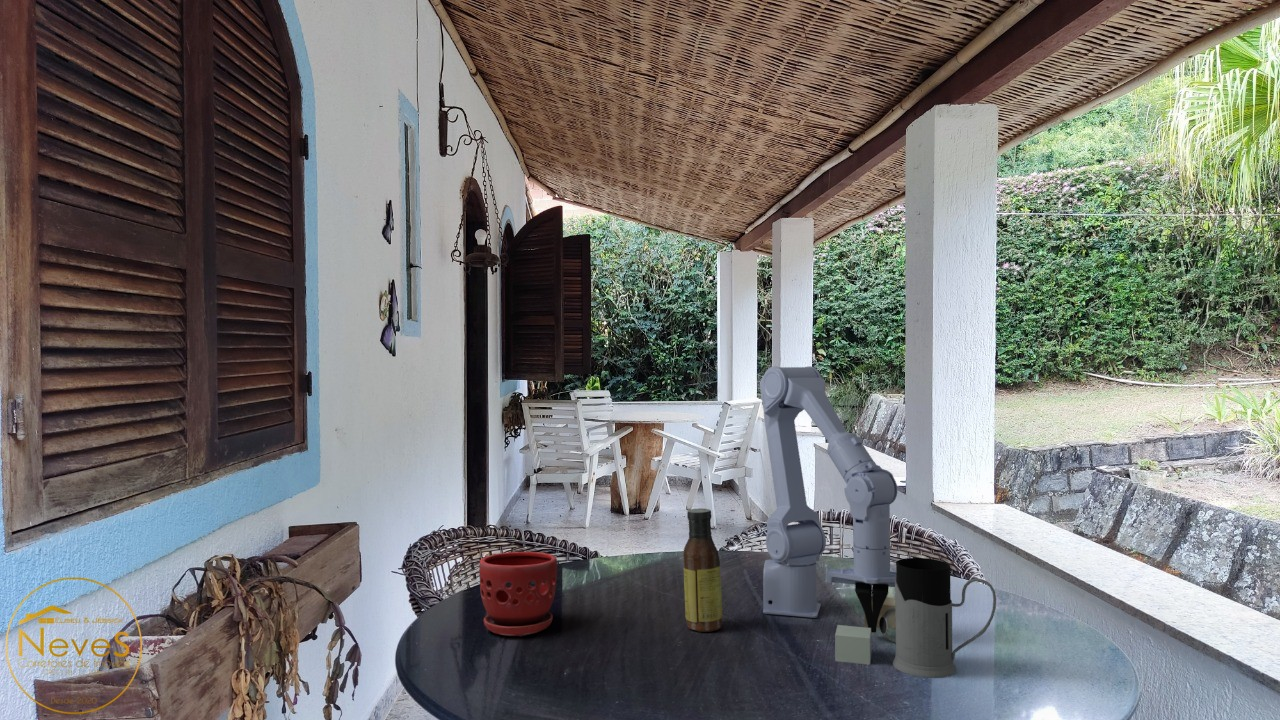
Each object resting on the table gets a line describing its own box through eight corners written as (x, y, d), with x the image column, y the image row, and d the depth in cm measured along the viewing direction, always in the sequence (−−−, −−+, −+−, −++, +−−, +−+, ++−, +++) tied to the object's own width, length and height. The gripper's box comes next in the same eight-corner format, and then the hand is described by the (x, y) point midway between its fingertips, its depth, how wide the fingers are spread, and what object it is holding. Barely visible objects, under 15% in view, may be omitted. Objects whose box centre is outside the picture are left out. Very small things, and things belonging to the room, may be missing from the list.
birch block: (864, 627, 136) (864, 603, 136) (865, 618, 140) (864, 595, 141) (895, 629, 134) (895, 605, 134) (894, 620, 139) (894, 597, 139)
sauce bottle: (727, 624, 137) (726, 508, 137) (715, 635, 131) (714, 514, 132) (691, 619, 140) (690, 505, 140) (678, 630, 134) (677, 511, 134)
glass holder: (900, 652, 123) (899, 554, 123) (1000, 669, 116) (999, 565, 116) (886, 670, 116) (885, 566, 116) (993, 689, 109) (991, 578, 109)
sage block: (835, 661, 120) (835, 635, 120) (837, 650, 124) (837, 625, 124) (870, 665, 118) (869, 638, 118) (871, 654, 123) (871, 628, 123)
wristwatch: (878, 639, 129) (878, 608, 129) (907, 637, 130) (907, 606, 130) (886, 645, 126) (886, 613, 126) (916, 643, 127) (916, 611, 127)
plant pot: (570, 631, 134) (570, 559, 134) (495, 646, 127) (495, 570, 127) (538, 611, 145) (538, 545, 145) (468, 624, 138) (468, 554, 139)
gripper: (823, 548, 128) (824, 633, 128) (919, 554, 123) (920, 642, 123) (827, 539, 134) (828, 620, 134) (918, 544, 130) (919, 628, 130)
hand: (872, 630), depth 129 cm, fingers closed
